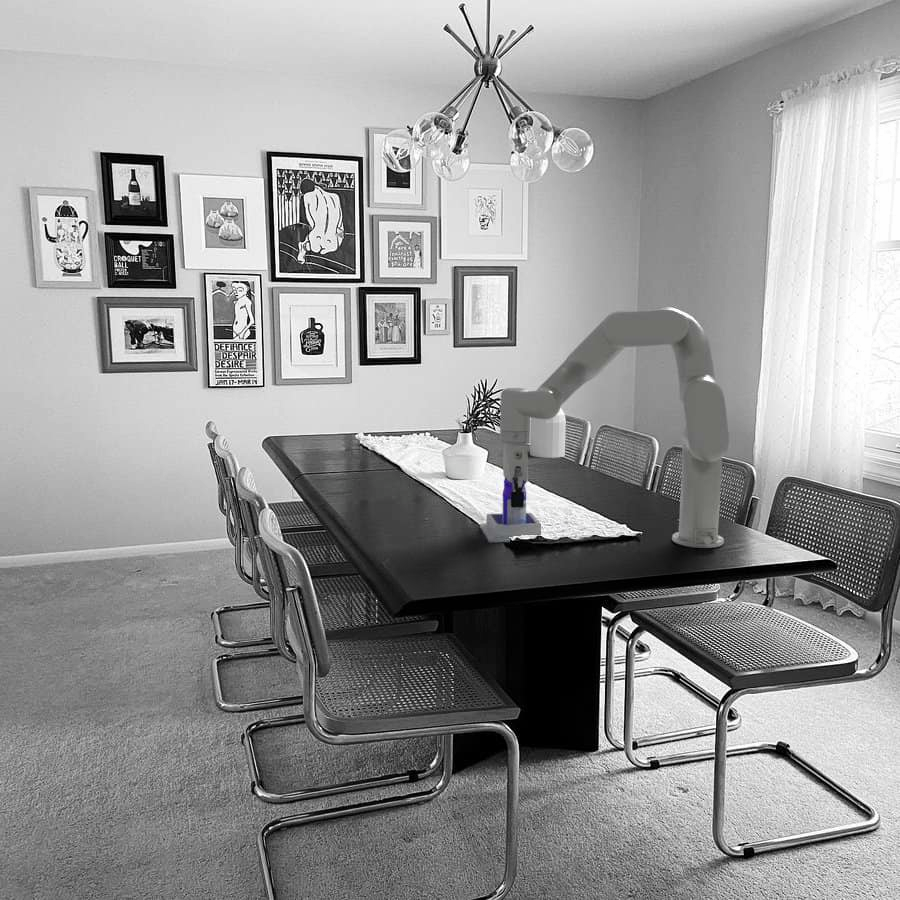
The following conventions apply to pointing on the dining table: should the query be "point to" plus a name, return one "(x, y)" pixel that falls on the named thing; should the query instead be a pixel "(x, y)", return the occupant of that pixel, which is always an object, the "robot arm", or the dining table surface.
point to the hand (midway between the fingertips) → (513, 502)
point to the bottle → (512, 513)
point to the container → (548, 436)
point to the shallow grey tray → (509, 528)
